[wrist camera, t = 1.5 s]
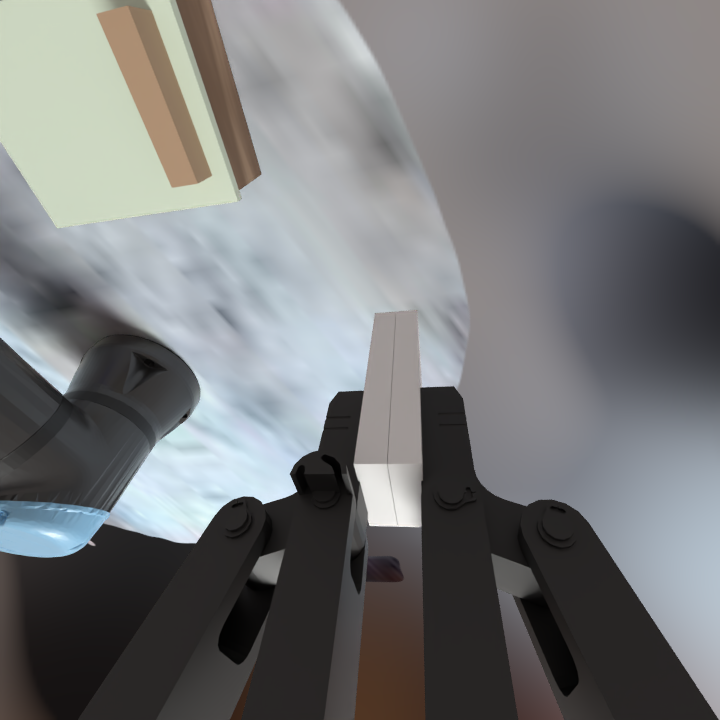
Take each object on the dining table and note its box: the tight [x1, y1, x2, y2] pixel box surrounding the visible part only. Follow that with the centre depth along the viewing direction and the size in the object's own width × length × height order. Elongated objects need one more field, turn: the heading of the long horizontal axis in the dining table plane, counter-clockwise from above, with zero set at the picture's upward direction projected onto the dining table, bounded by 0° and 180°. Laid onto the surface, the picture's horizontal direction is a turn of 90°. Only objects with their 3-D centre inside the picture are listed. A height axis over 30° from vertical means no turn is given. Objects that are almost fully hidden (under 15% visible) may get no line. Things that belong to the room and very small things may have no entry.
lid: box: [0, 0, 242, 228], centre depth 25 cm, size 17×13×3 cm
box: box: [176, 0, 261, 190], centre depth 29 cm, size 16×12×6 cm
